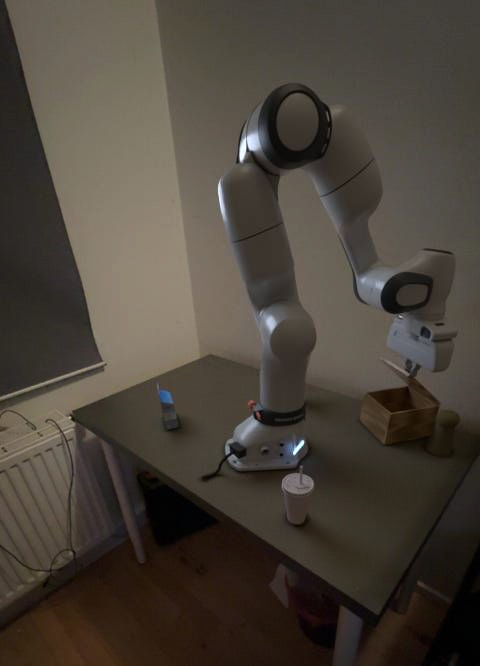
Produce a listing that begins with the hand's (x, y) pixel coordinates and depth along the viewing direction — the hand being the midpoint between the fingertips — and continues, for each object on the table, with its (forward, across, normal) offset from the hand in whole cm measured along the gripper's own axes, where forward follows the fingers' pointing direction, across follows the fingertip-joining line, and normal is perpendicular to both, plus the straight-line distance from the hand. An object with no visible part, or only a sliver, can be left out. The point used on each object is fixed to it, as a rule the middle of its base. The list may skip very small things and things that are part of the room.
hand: (409, 375), depth 92 cm
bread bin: (+16, 0, -1) cm, 17 cm away
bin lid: (+2, 0, 0) cm, 2 cm away
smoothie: (+17, +25, -40) cm, 50 cm away
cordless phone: (+17, -23, -64) cm, 70 cm away
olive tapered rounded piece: (+17, +12, +4) cm, 21 cm away
